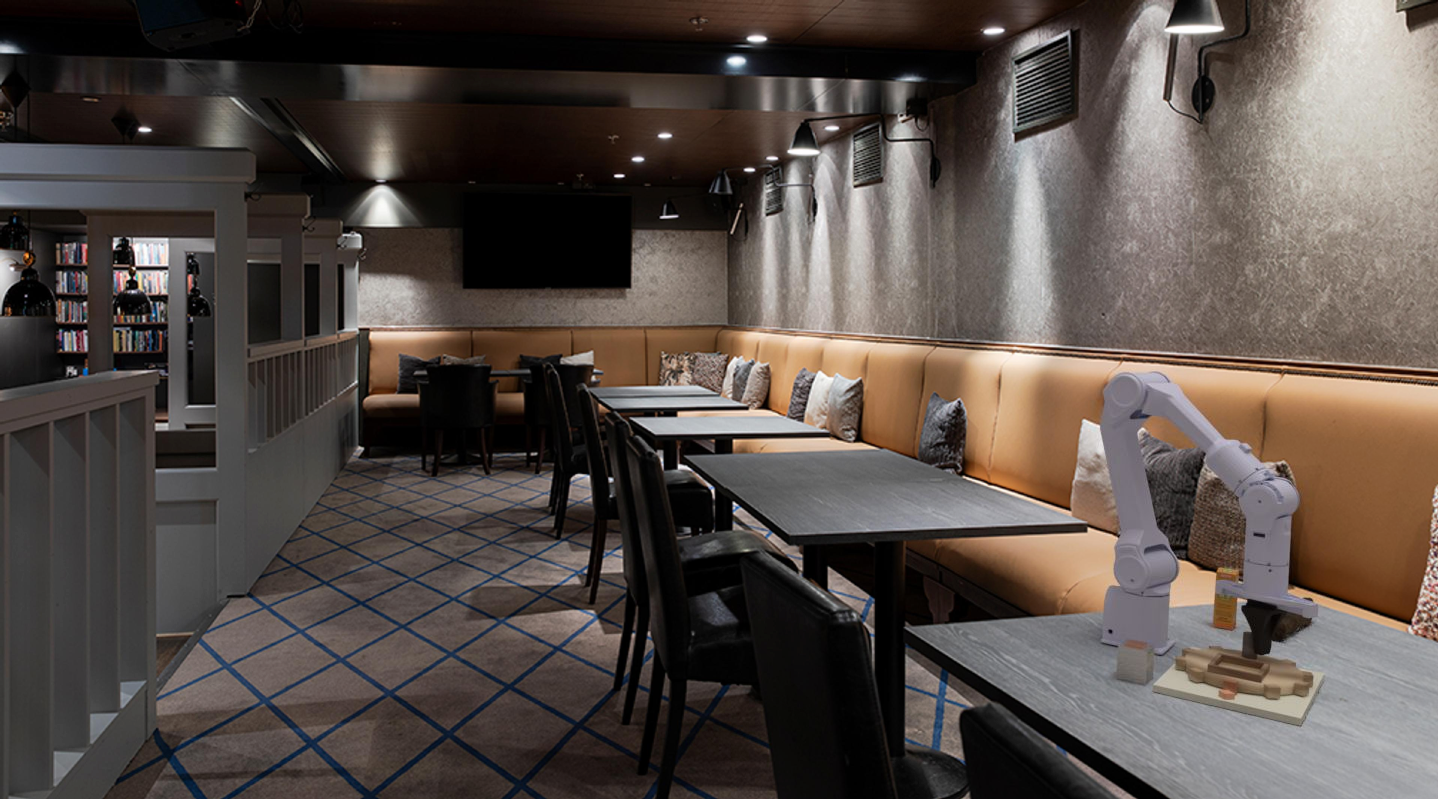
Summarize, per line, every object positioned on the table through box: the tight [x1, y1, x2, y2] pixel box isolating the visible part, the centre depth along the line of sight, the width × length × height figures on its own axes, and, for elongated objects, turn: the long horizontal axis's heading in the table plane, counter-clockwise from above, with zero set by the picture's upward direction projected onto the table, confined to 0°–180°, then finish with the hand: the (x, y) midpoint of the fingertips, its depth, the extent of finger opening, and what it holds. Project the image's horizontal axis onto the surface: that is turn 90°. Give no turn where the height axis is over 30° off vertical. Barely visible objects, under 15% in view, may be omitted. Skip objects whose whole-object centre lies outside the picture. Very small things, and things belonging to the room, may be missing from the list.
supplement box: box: [1212, 567, 1240, 631], centre depth 167 cm, size 3×3×10 cm
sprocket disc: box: [1174, 630, 1313, 699], centre depth 140 cm, size 17×17×5 cm
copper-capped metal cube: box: [1116, 639, 1155, 686], centre depth 141 cm, size 4×4×5 cm
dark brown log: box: [1272, 596, 1315, 643], centre depth 166 cm, size 19×4×5 cm, turn 129°
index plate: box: [1152, 646, 1326, 727], centre depth 139 cm, size 18×22×2 cm
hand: (1261, 653), depth 142 cm, fingers closed
